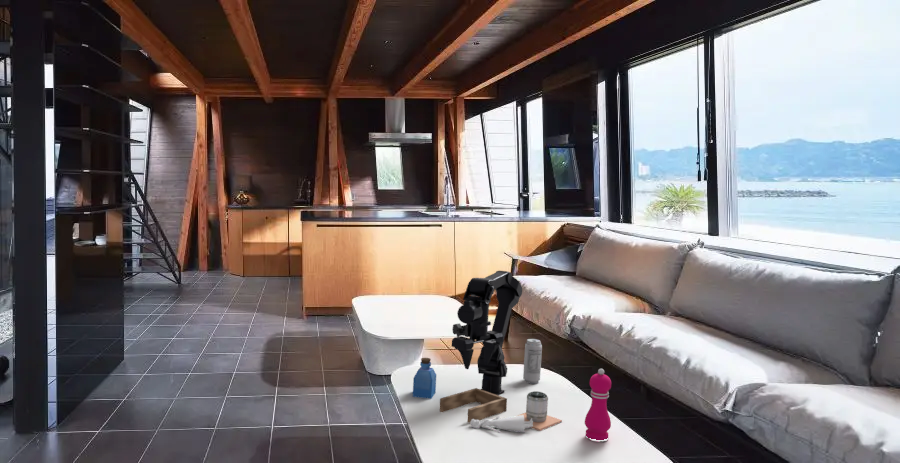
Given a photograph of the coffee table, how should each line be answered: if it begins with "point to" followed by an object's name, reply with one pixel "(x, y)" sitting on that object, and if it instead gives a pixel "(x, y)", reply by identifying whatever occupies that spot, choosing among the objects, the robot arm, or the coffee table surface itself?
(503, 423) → the woman figurine
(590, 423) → the pepper mill
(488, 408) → the frame
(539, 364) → the energy drink can
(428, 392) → the perfume bottle
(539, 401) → the camera lens
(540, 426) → the terracotta coaster
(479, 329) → the robot arm
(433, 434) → the coffee table surface
